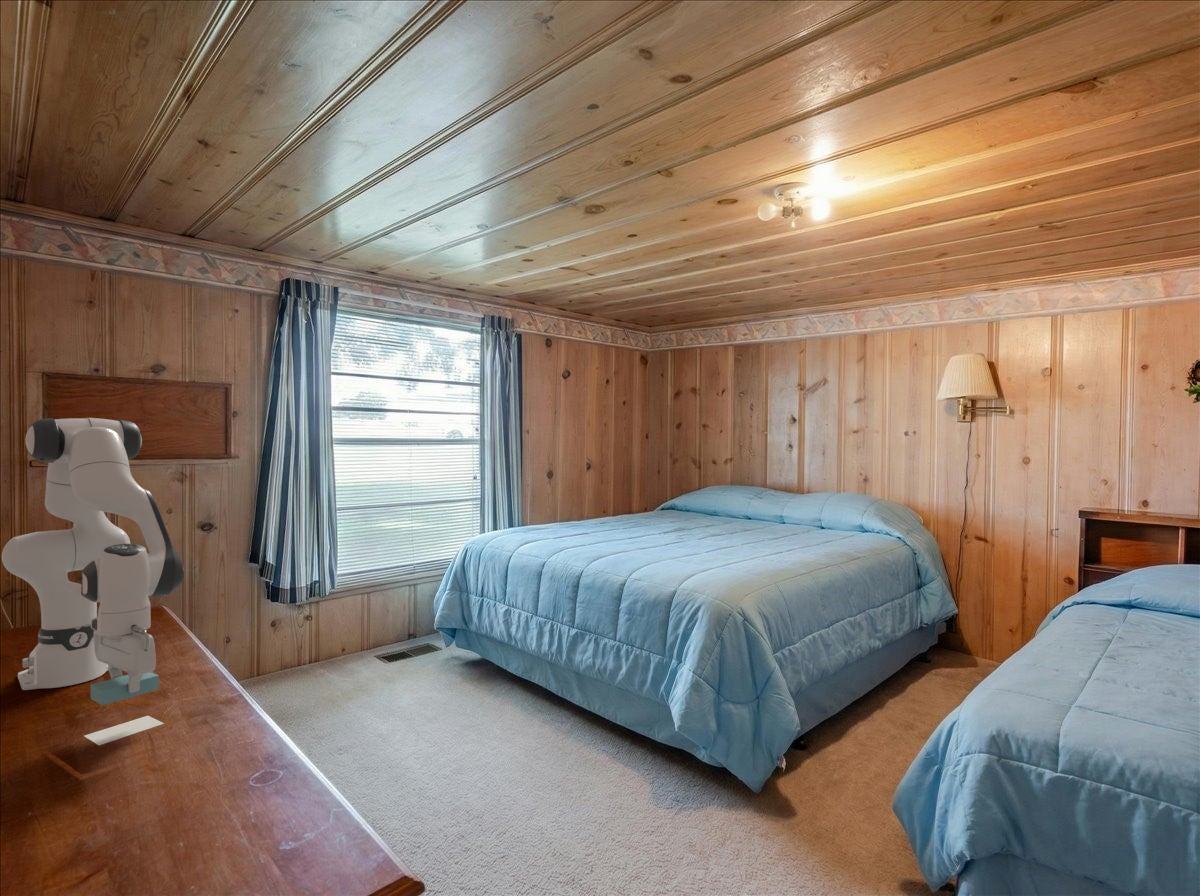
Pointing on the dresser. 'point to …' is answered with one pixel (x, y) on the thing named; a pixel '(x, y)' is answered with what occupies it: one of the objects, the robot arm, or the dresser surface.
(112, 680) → the teal rectangular block
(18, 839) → the dresser surface
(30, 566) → the robot arm
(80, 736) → the dresser surface
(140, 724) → the mat
